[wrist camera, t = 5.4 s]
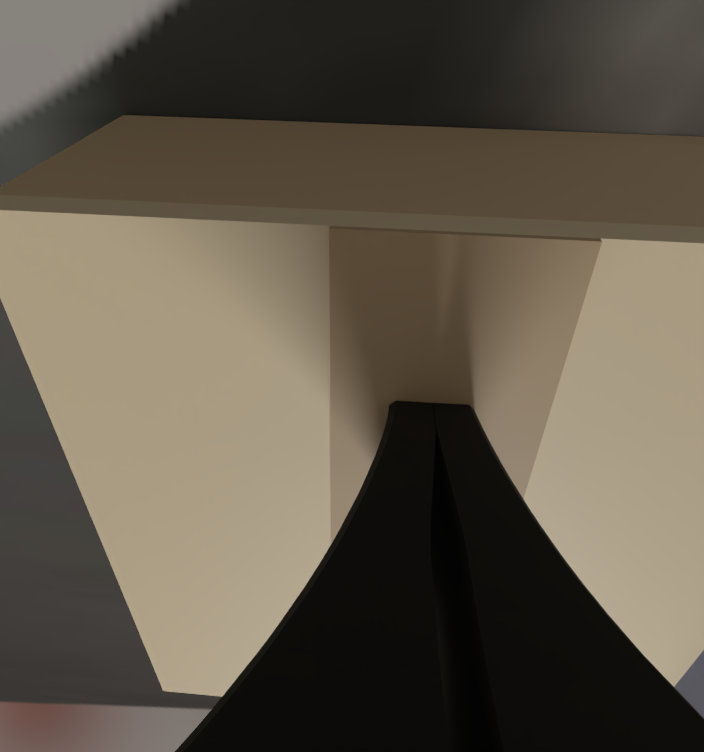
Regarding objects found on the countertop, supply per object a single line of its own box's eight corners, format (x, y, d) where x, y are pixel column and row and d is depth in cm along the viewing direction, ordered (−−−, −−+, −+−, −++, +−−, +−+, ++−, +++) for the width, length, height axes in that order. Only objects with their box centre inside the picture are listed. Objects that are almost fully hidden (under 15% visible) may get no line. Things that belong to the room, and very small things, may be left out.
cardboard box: (783, 139, 12) (979, 239, 8) (586, 565, 21) (628, 711, 17) (122, 114, 12) (-13, 193, 8) (214, 536, 21) (170, 668, 17)
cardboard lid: (978, 239, 8) (1023, 261, 7) (628, 713, 17) (636, 739, 16) (-11, 193, 8) (-42, 210, 8) (170, 670, 17) (162, 694, 17)
